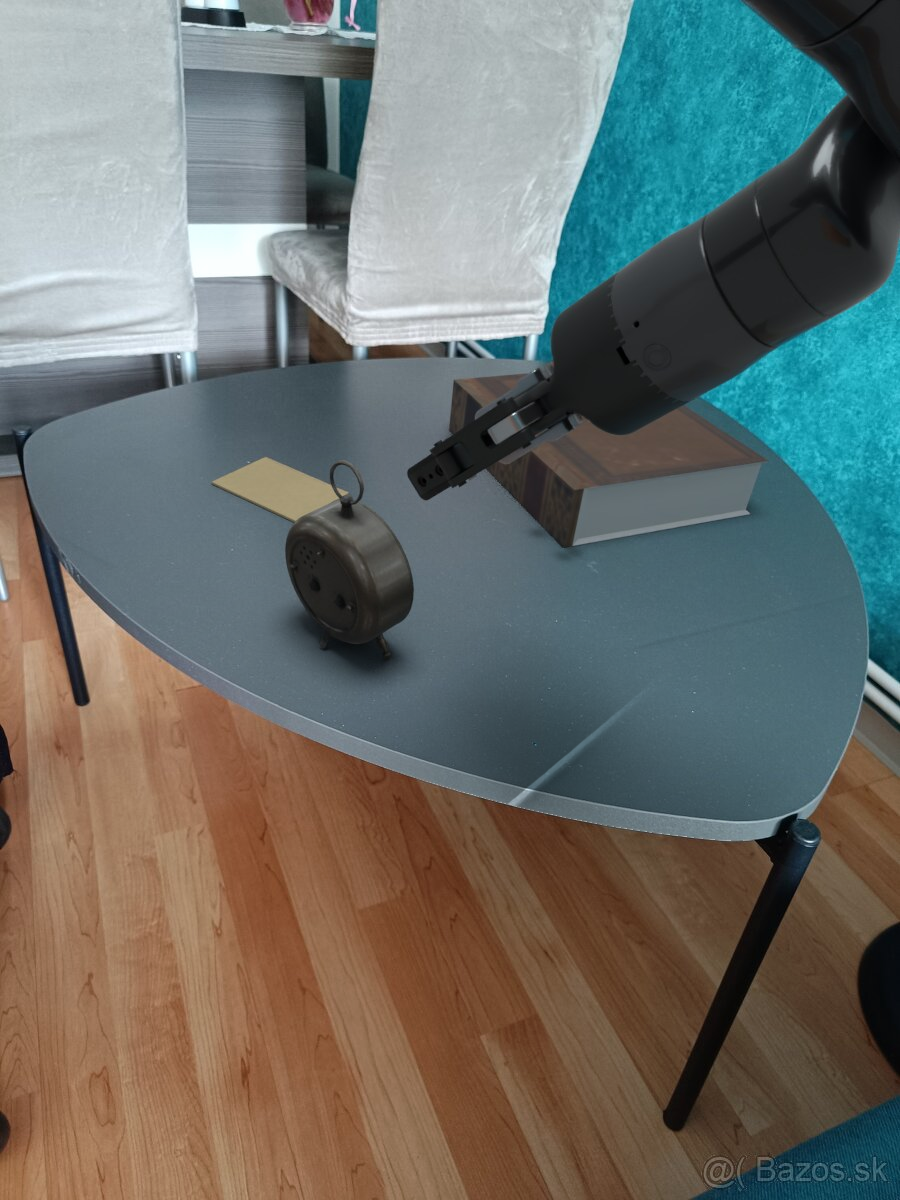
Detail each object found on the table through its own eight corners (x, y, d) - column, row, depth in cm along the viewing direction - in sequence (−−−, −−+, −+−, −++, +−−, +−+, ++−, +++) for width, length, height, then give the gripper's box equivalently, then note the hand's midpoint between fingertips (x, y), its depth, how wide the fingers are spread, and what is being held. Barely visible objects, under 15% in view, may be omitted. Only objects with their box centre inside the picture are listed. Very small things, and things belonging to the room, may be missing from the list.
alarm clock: (412, 657, 67) (427, 479, 58) (363, 687, 64) (369, 503, 55) (325, 596, 73) (324, 425, 64) (275, 620, 70) (267, 444, 60)
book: (562, 547, 83) (574, 490, 79) (448, 430, 103) (453, 379, 99) (750, 514, 92) (769, 461, 89) (612, 412, 112) (622, 365, 109)
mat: (297, 524, 82) (297, 521, 82) (211, 484, 87) (211, 481, 87) (349, 495, 88) (349, 492, 88) (265, 459, 93) (265, 456, 93)
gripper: (679, 243, 47) (484, 381, 58) (562, 290, 37) (354, 446, 48) (743, 361, 48) (538, 474, 59) (646, 438, 38) (422, 557, 49)
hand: (455, 462), depth 53 cm, fingers open, 8 cm apart
